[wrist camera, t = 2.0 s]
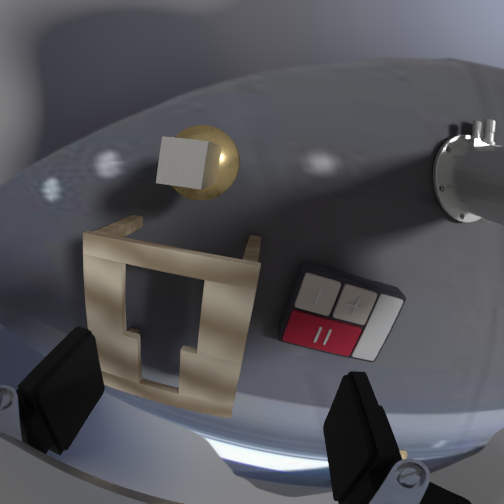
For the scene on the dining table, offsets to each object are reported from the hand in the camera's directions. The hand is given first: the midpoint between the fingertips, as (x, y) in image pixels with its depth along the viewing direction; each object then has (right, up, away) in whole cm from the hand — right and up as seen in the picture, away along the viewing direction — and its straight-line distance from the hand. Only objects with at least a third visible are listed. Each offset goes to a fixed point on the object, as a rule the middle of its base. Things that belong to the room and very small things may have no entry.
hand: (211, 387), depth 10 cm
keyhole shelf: (-8, -1, +31) cm, 32 cm away
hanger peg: (-3, +16, +26) cm, 30 cm away
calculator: (+14, -3, +31) cm, 34 cm away
